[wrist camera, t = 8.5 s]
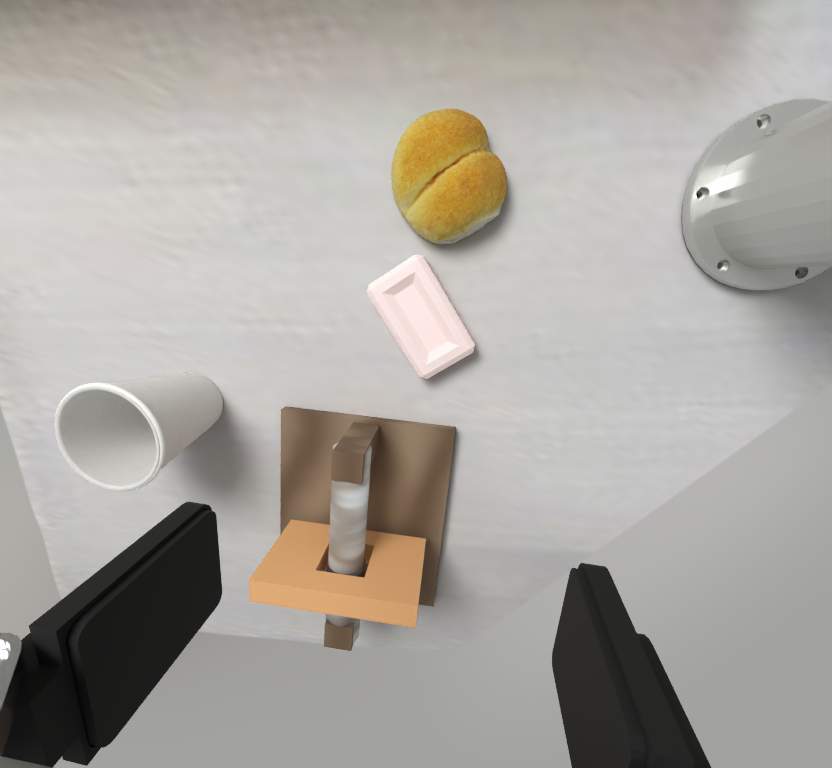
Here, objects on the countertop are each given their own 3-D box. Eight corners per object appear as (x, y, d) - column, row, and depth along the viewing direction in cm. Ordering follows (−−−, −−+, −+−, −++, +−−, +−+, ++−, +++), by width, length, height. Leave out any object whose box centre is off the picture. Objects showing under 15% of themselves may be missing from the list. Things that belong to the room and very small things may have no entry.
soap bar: (423, 376, 36) (421, 382, 33) (369, 287, 34) (362, 288, 32) (476, 345, 35) (478, 350, 32) (422, 253, 33) (419, 250, 31)
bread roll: (464, 95, 30) (465, 68, 26) (518, 205, 31) (527, 195, 27) (372, 160, 31) (360, 142, 28) (428, 261, 33) (424, 258, 29)
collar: (426, 538, 37) (418, 606, 29) (424, 556, 37) (415, 627, 30) (291, 519, 38) (249, 579, 30) (291, 537, 38) (249, 601, 31)
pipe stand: (455, 427, 36) (455, 463, 29) (433, 598, 41) (429, 667, 34) (285, 406, 37) (243, 436, 30) (284, 575, 42) (248, 637, 35)
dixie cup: (254, 409, 38) (184, 453, 28) (196, 456, 40) (112, 512, 30) (194, 339, 37) (99, 360, 27) (137, 391, 38) (30, 427, 29)
